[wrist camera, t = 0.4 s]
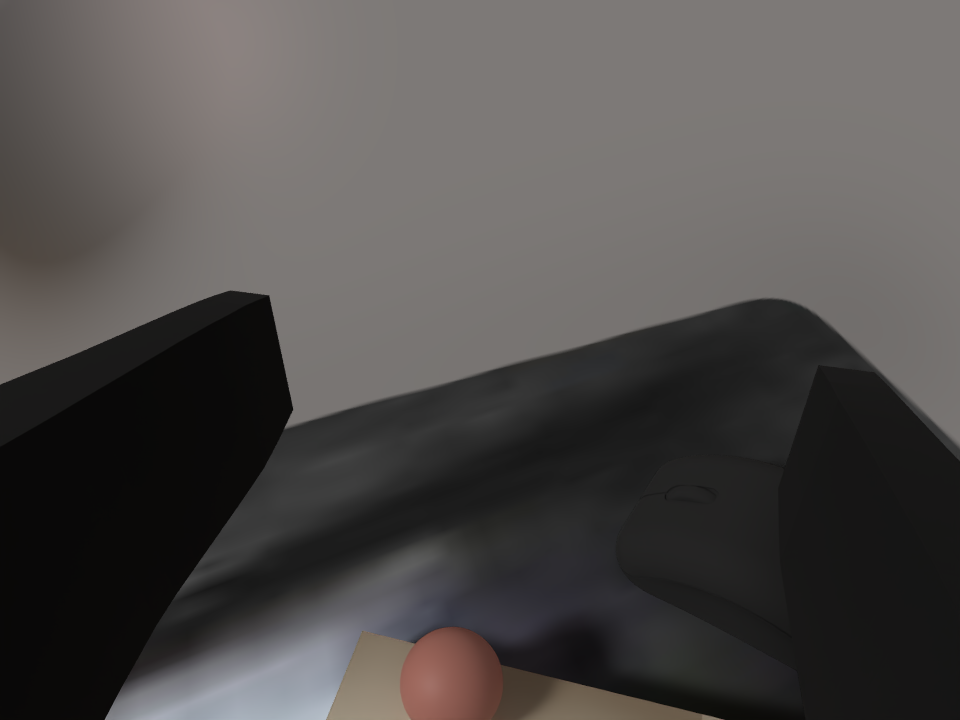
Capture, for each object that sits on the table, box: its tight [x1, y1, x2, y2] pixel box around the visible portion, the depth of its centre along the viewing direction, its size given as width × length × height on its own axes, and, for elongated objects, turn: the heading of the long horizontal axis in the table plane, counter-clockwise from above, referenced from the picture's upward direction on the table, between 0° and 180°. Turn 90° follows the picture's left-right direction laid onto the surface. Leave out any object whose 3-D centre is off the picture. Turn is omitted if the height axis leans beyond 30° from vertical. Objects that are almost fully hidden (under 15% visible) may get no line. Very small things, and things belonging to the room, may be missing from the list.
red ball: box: [400, 627, 503, 720], centre depth 22 cm, size 3×3×3 cm
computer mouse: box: [616, 455, 797, 670], centre depth 27 cm, size 6×11×4 cm, turn 55°
